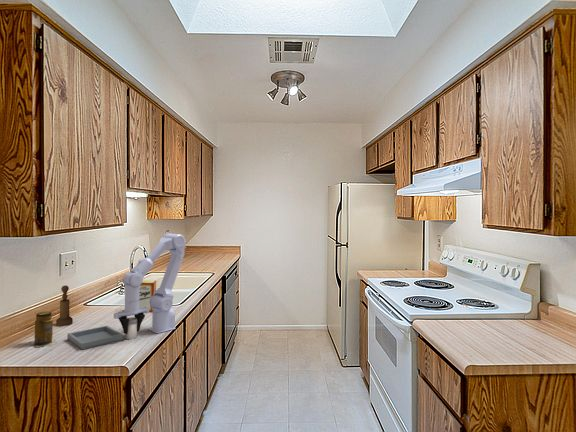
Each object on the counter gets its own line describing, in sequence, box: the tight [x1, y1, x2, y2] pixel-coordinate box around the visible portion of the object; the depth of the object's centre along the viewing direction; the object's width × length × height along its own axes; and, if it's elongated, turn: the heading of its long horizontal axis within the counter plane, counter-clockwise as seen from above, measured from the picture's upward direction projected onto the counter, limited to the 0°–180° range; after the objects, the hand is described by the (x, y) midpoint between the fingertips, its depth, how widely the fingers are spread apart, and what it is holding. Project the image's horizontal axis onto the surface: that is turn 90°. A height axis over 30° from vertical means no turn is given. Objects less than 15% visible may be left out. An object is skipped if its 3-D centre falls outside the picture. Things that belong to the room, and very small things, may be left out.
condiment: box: [30, 311, 58, 348], centre depth 153 cm, size 7×8×12 cm
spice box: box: [139, 279, 157, 313], centre depth 203 cm, size 10×6×16 cm
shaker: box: [125, 316, 138, 340], centre depth 162 cm, size 5×5×8 cm
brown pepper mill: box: [55, 285, 74, 327], centre depth 177 cm, size 7×6×18 cm
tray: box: [67, 325, 124, 351], centre depth 158 cm, size 16×16×2 cm
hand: (131, 332), depth 162 cm, fingers closed on shaker, 4 cm apart
